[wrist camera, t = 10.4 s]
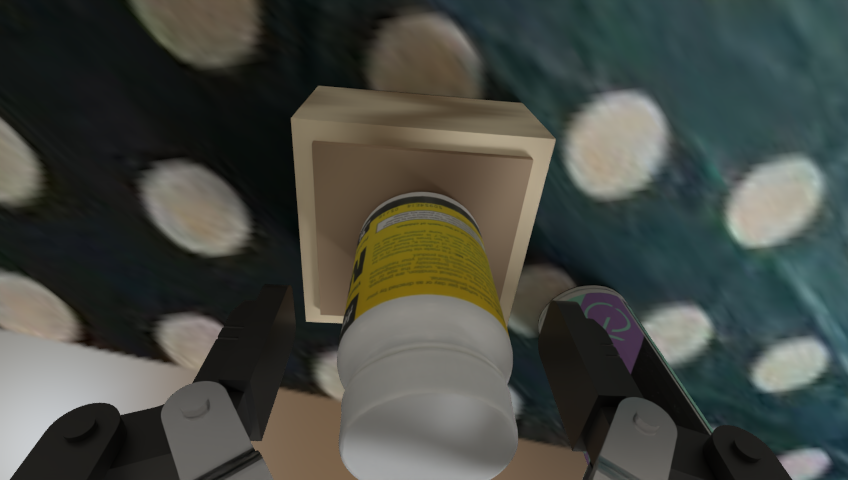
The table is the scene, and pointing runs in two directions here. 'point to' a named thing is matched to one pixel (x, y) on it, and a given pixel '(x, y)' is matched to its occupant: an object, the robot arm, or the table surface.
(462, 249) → the supplement bottle
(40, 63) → the table surface
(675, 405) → the spray can
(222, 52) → the table surface
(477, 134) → the base block
